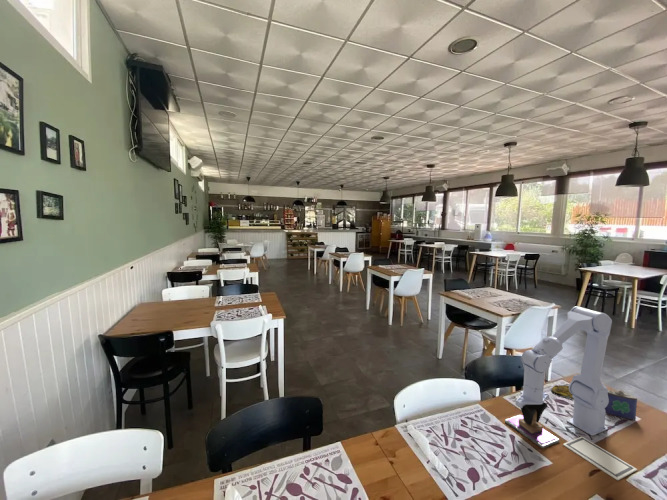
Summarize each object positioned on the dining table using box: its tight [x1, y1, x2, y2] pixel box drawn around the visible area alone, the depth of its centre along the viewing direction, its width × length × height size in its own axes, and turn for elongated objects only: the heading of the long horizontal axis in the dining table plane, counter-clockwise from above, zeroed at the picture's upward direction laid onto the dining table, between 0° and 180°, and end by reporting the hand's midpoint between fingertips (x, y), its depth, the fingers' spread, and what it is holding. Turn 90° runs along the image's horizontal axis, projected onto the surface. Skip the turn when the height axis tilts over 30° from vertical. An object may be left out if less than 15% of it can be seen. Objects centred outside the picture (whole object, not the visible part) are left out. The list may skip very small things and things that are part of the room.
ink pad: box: [504, 414, 560, 449], centre depth 98 cm, size 8×13×1 cm, turn 20°
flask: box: [605, 389, 638, 422], centre depth 106 cm, size 9×3×11 cm, turn 61°
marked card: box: [562, 436, 638, 481], centre depth 87 cm, size 10×14×1 cm
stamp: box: [519, 412, 544, 434], centre depth 98 cm, size 5×5×6 cm
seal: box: [551, 384, 574, 400], centre depth 122 cm, size 9×5×15 cm
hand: (531, 421), depth 98 cm, fingers closed on stamp, 3 cm apart
